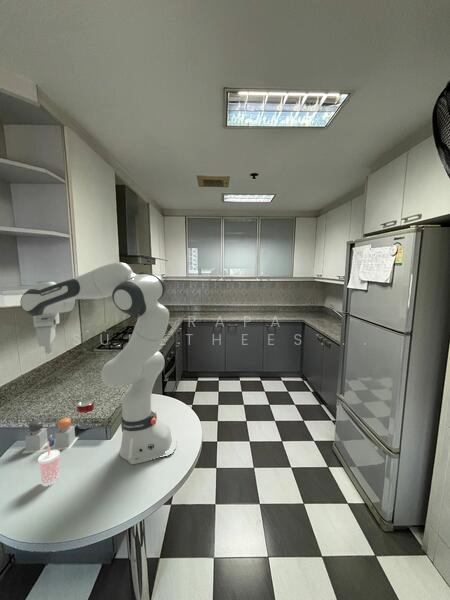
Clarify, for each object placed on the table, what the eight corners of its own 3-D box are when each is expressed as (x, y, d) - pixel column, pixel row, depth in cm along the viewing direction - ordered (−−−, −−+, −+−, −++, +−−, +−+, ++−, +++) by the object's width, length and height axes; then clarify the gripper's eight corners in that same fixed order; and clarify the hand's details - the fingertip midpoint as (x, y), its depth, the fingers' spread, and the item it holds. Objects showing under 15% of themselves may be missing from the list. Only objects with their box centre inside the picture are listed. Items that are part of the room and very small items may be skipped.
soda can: (87, 433, 112) (86, 407, 112) (73, 431, 114) (72, 406, 113) (98, 424, 119) (97, 400, 119) (85, 423, 121) (84, 399, 120)
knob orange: (74, 438, 106) (72, 417, 105) (68, 445, 101) (67, 422, 101) (62, 439, 105) (61, 418, 105) (56, 446, 101) (55, 423, 100)
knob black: (46, 441, 104) (45, 419, 104) (39, 447, 100) (38, 425, 99) (34, 442, 104) (33, 420, 103) (27, 449, 99) (25, 426, 99)
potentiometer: (56, 442, 104) (55, 433, 103) (52, 446, 101) (51, 437, 101) (50, 443, 104) (49, 433, 103) (46, 446, 101) (45, 437, 101)
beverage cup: (44, 476, 86) (42, 437, 86) (64, 472, 88) (62, 434, 87) (35, 489, 80) (33, 448, 80) (56, 485, 82) (54, 445, 81)
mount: (79, 439, 108) (78, 423, 107) (69, 451, 100) (69, 434, 99) (34, 443, 105) (33, 427, 105) (21, 455, 97) (20, 438, 97)
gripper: (41, 318, 111) (43, 348, 112) (32, 323, 93) (34, 359, 94) (58, 317, 114) (59, 346, 115) (52, 322, 96) (54, 356, 97)
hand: (48, 352), depth 104 cm, fingers closed
